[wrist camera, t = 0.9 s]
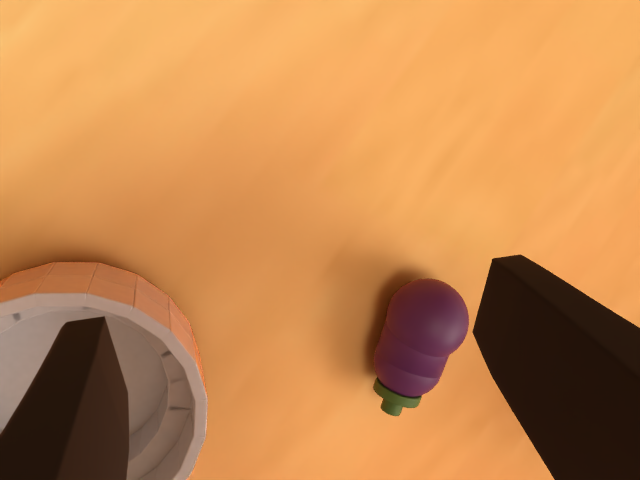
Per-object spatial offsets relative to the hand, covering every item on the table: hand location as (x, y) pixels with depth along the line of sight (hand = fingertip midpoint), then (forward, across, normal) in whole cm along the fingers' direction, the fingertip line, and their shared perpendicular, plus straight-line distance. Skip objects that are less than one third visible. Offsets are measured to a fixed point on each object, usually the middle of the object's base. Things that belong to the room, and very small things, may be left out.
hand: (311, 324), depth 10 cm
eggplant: (+14, -9, +17) cm, 24 cm away
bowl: (+14, +9, +16) cm, 23 cm away
